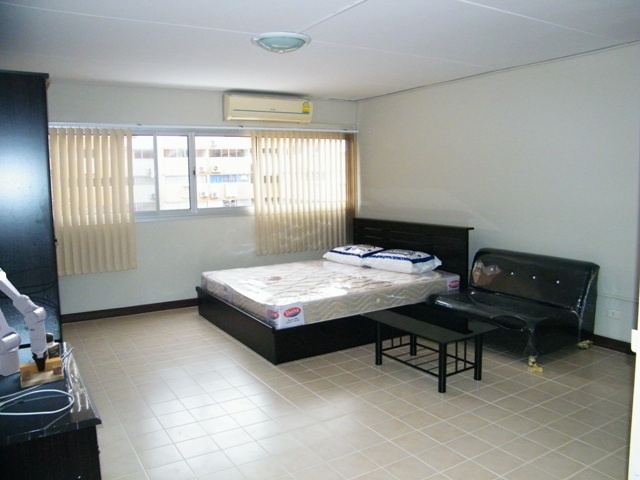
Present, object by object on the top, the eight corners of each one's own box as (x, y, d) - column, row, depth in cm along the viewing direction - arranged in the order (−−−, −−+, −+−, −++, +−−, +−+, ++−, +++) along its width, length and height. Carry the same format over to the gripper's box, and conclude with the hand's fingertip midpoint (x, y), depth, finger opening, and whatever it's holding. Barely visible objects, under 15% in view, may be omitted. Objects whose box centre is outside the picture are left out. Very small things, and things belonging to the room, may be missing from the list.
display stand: (21, 387, 200) (19, 376, 199) (20, 380, 207) (19, 369, 206) (64, 378, 207) (63, 368, 207) (62, 372, 214) (61, 361, 214)
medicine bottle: (49, 364, 224) (46, 337, 222) (35, 363, 225) (32, 336, 223) (60, 358, 231) (58, 332, 229) (46, 357, 232) (44, 331, 230)
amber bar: (20, 378, 209) (19, 367, 208) (20, 375, 212) (19, 364, 212) (62, 370, 216) (61, 359, 216) (61, 367, 220) (60, 356, 219)
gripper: (50, 340, 208) (53, 372, 210) (47, 331, 220) (51, 361, 222) (30, 344, 204) (33, 376, 206) (28, 334, 217) (32, 365, 219)
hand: (41, 369), depth 214 cm, fingers closed on amber bar, 4 cm apart
